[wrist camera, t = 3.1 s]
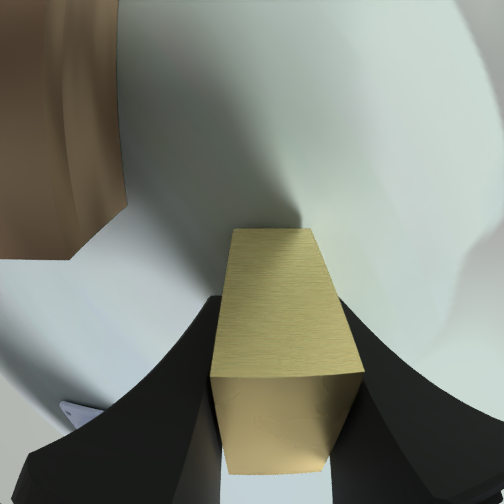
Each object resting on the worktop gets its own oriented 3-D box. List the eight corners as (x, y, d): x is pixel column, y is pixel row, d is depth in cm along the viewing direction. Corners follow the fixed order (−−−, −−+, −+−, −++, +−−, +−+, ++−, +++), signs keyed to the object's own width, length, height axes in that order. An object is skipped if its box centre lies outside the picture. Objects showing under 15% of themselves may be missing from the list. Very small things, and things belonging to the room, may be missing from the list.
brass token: (300, 333, 12) (321, 471, 6) (237, 334, 12) (228, 474, 7) (310, 228, 10) (364, 371, 4) (233, 228, 10) (209, 376, 4)
